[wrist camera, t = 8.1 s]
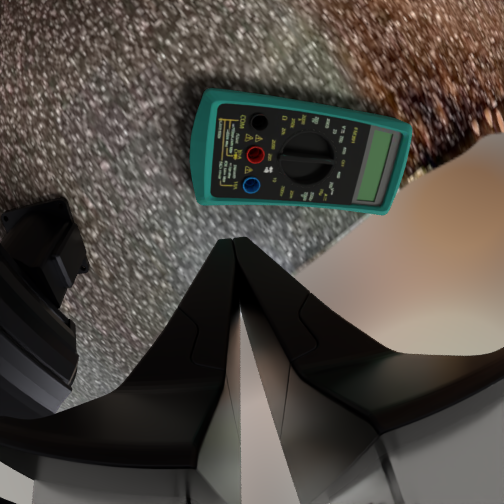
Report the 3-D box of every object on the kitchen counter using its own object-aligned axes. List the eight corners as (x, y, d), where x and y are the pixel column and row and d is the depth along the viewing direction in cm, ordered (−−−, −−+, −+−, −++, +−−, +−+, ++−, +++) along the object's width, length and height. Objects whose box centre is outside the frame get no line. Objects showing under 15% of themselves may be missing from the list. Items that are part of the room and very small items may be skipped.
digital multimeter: (195, 86, 17) (194, 90, 15) (398, 118, 20) (421, 128, 18) (188, 190, 21) (187, 210, 19) (375, 202, 24) (393, 220, 22)
